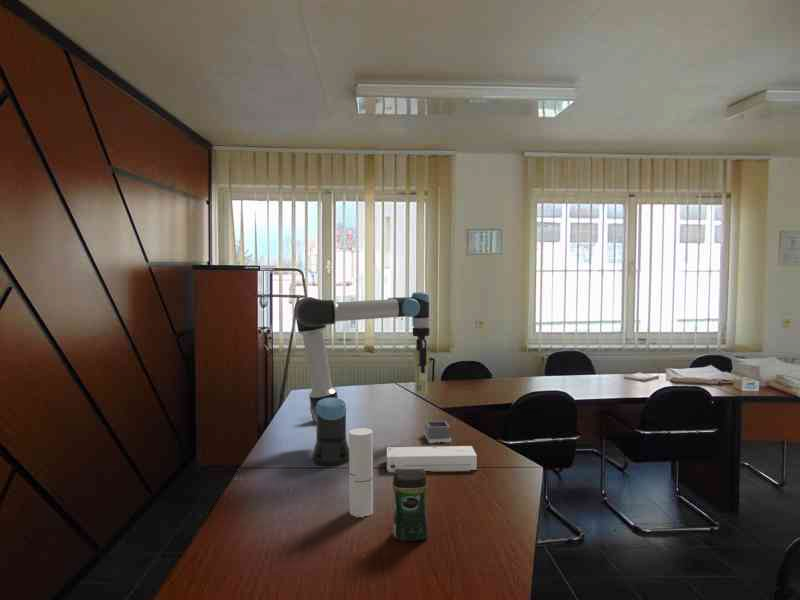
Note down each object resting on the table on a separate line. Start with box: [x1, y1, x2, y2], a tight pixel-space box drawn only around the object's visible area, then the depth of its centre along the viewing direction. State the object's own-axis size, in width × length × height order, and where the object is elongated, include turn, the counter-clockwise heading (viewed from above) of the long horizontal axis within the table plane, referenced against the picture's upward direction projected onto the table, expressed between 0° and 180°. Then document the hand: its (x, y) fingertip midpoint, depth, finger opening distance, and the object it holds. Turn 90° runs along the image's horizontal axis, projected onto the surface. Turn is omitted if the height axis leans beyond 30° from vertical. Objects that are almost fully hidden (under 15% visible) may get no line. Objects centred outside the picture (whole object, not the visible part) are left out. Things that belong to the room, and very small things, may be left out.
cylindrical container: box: [348, 427, 374, 518], centre depth 155 cm, size 7×7×25 cm
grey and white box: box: [424, 420, 452, 444], centre depth 228 cm, size 12×10×6 cm
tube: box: [412, 350, 431, 396], centre depth 226 cm, size 6×5×20 cm
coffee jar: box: [392, 469, 429, 542], centre depth 141 cm, size 10×8×19 cm
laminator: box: [385, 445, 478, 473], centre depth 194 cm, size 34×12×6 cm, turn 92°
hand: (421, 378), depth 226 cm, fingers closed on tube, 4 cm apart
